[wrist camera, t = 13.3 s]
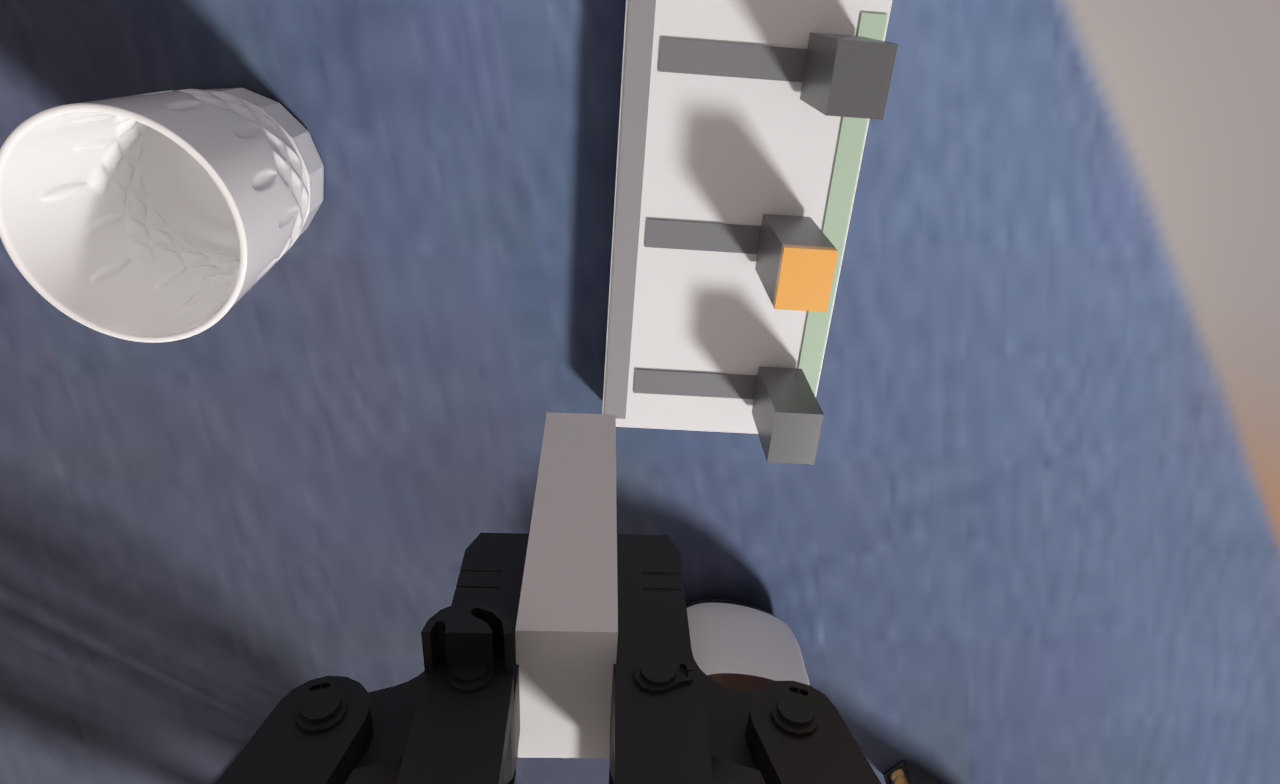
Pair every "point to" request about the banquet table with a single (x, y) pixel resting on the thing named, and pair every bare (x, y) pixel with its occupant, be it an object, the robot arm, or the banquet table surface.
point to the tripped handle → (795, 263)
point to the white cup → (156, 205)
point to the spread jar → (743, 645)
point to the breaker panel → (719, 202)
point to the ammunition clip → (907, 775)
